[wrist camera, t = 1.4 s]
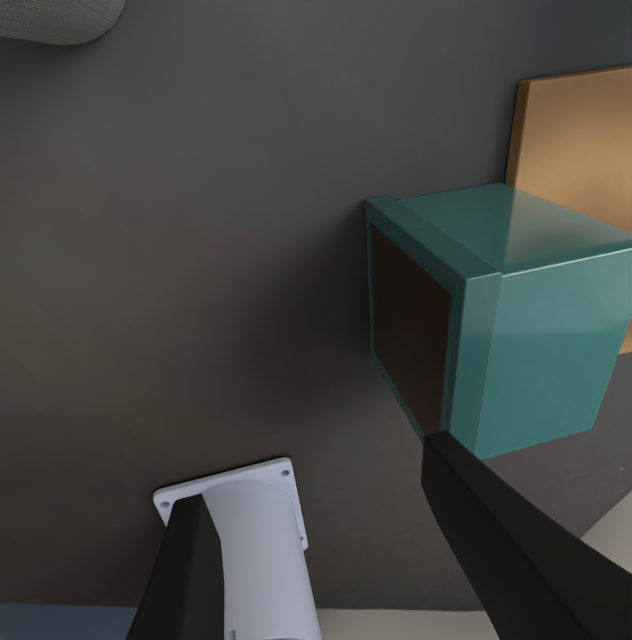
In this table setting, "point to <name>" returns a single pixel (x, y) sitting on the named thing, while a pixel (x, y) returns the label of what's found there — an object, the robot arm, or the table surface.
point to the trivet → (577, 145)
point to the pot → (495, 313)
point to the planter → (58, 19)
